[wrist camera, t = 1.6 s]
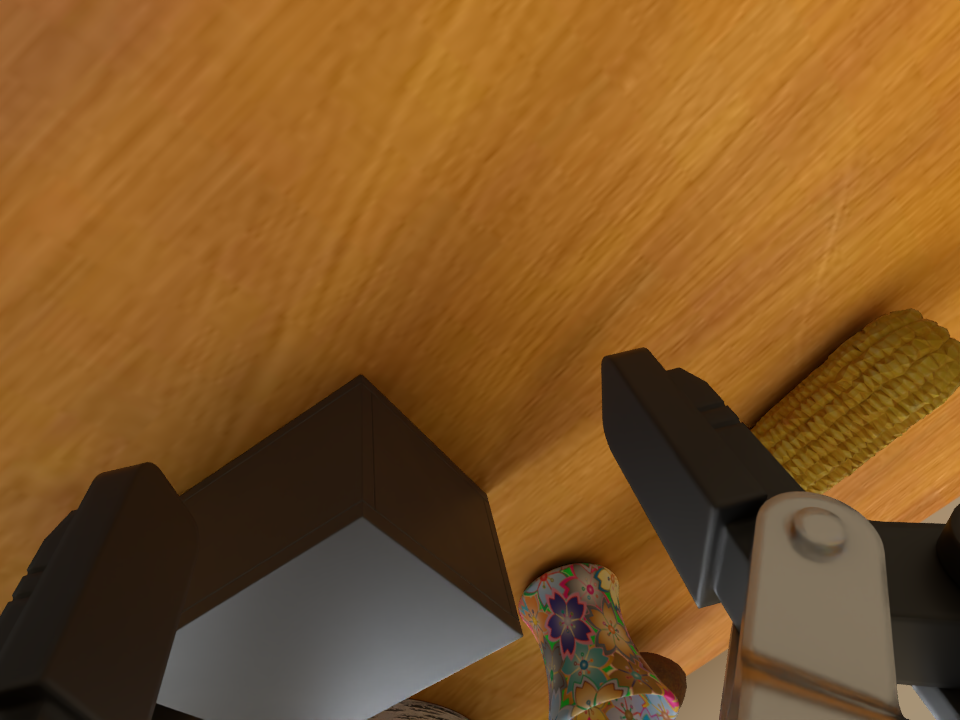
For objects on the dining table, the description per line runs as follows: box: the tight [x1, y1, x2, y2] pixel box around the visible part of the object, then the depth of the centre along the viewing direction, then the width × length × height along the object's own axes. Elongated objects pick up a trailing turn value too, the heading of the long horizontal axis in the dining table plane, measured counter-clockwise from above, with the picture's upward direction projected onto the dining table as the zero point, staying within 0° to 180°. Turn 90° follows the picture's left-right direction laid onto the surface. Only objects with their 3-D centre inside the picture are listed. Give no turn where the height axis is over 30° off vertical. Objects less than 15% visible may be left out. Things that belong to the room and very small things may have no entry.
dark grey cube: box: [156, 375, 523, 720], centre depth 29 cm, size 15×13×10 cm
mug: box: [519, 563, 679, 720], centre depth 40 cm, size 11×9×10 cm
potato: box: [639, 652, 687, 709], centre depth 48 cm, size 7×12×7 cm, turn 133°
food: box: [750, 308, 960, 494], centre depth 34 cm, size 21×6×6 cm, turn 146°
